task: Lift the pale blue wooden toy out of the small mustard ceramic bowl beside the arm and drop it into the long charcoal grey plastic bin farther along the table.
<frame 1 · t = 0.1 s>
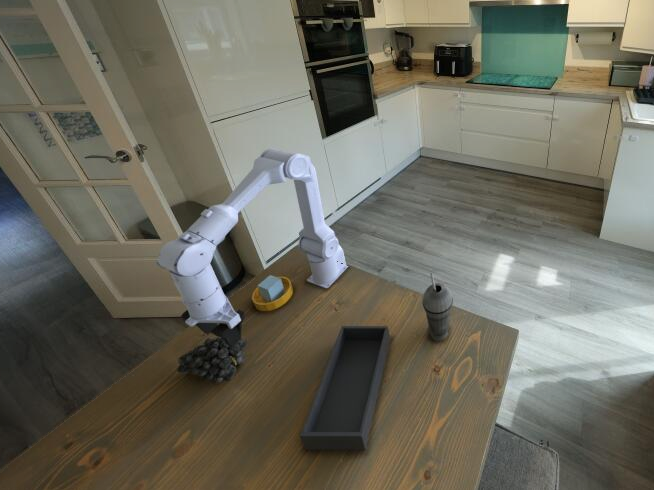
hand: (223, 336, 67), 10 cm above the table, tool pointing down, fingers open, 7 cm apart
bin: (353, 386, 67), on the table
bowl: (274, 297, 88), on the table
fruit: (216, 367, 71), on the table
beverage cup: (439, 332, 79), on the table
toy block: (274, 296, 88), resting on bowl
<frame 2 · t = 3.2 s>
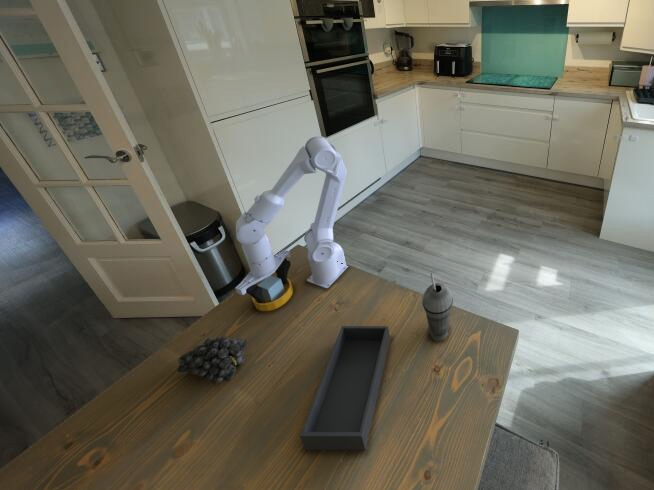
hand: (272, 292, 87), 2 cm above the table, tool pointing down
nothing on the table moved.
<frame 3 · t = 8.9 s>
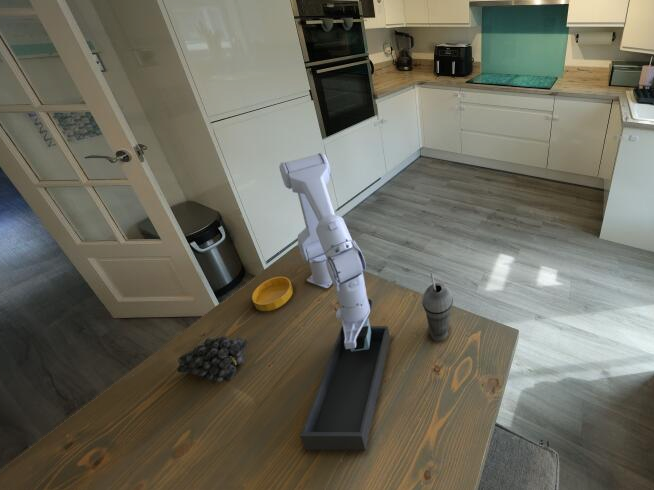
hand: (360, 337, 72), 5 cm above the table, tool pointing down, fingers closed on toy block, 4 cm apart
toy block: (361, 341, 73), point 4 cm above the table, touching gripper
everything else where it was.
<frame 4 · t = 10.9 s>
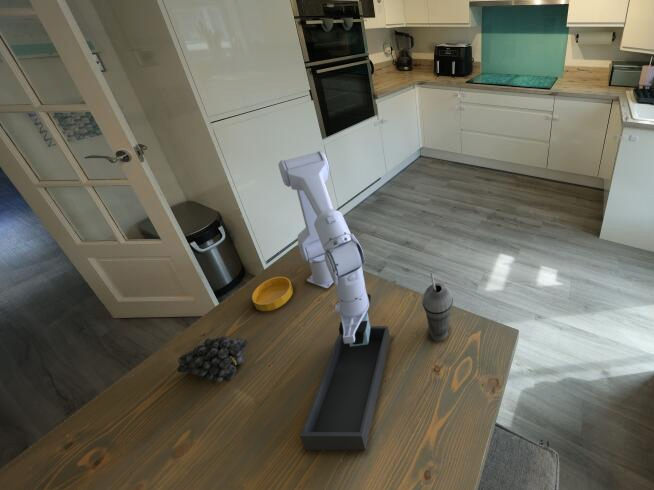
hand: (360, 333, 71), 7 cm above the table, tool pointing down, fingers closed on toy block, 4 cm apart
toy block: (360, 337, 72), point 6 cm above the table, touching gripper
everything else where it was.
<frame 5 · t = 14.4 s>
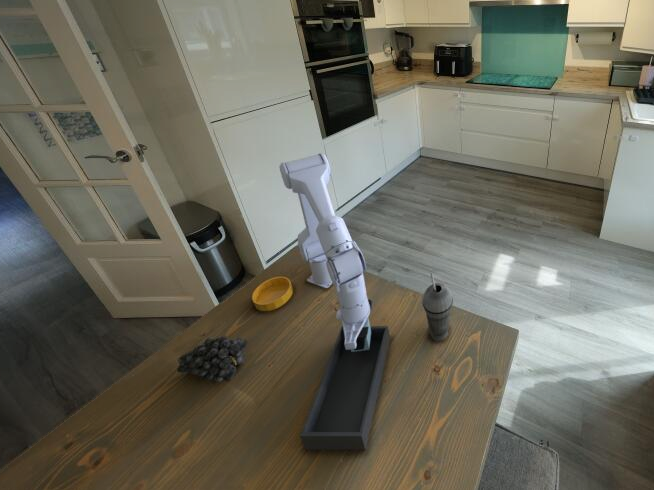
hand: (361, 338, 72), 5 cm above the table, tool pointing down, fingers closed on toy block, 4 cm apart
toy block: (361, 342, 73), point 4 cm above the table, touching gripper
everything else where it was.
when the fingers open (7 cm above the table, at t = 17.9 s): toy block drops 5 cm, resting on bin.
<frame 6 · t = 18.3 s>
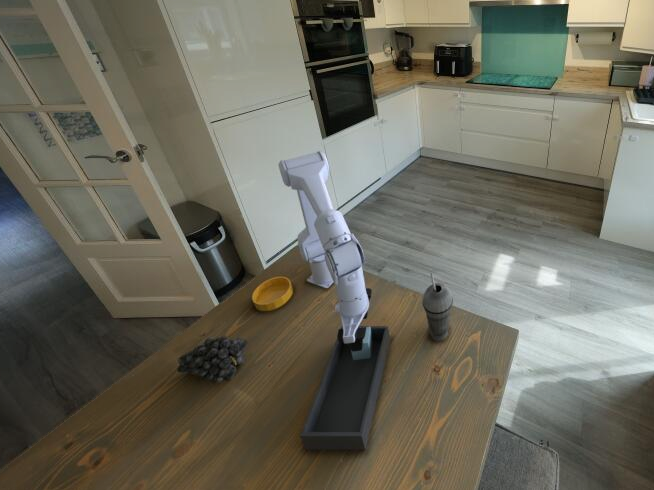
hand: (360, 332, 71), 7 cm above the table, tool pointing down, fingers open, 7 cm apart
toy block: (363, 350, 74), resting on bin
everything else where it was.
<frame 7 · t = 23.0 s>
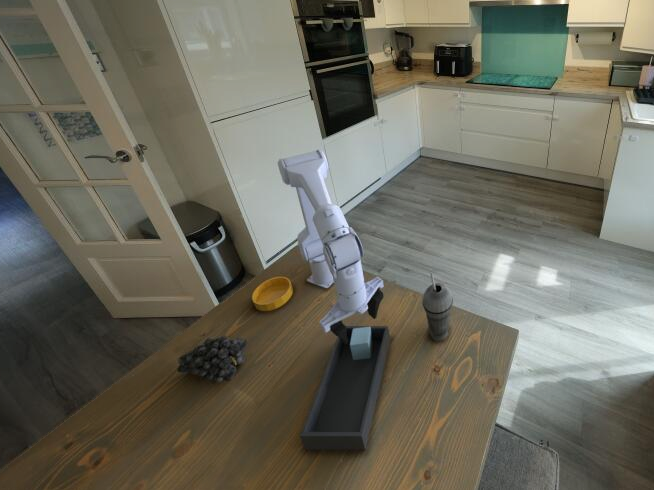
hand: (358, 328, 71), 9 cm above the table, tool pointing down, fingers open, 7 cm apart
nothing on the table moved.
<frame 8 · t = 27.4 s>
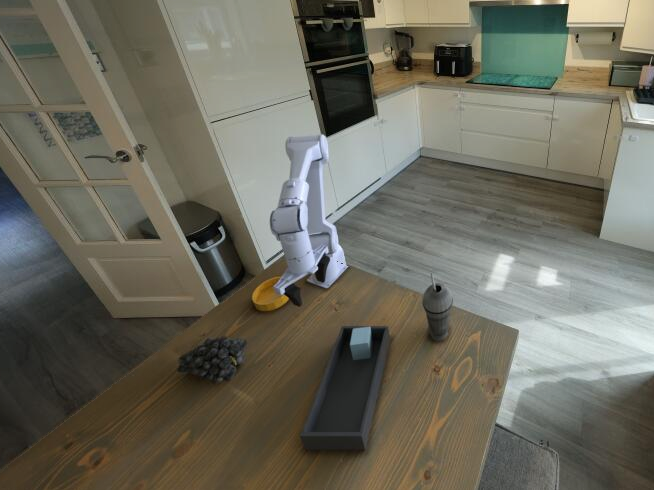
hand: (310, 292, 78), 9 cm above the table, tool pointing down, fingers open, 7 cm apart
nothing on the table moved.
at the end: toy block inside the target area in the bin (7.5 cm from its centre), point 0.5 cm above the bin's base; toy block touching bin; the gripper is holding nothing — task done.
